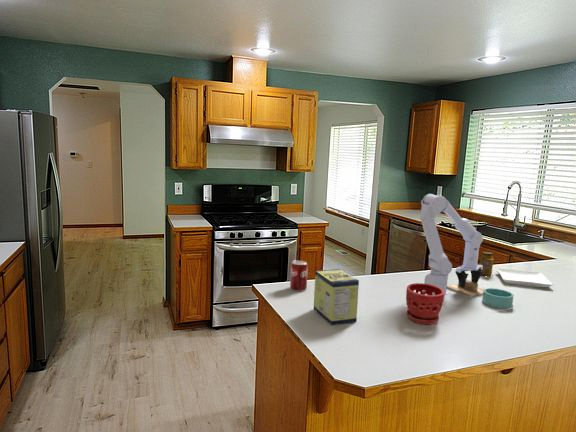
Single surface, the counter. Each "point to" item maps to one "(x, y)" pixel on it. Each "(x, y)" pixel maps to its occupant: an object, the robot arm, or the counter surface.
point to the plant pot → (424, 303)
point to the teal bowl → (498, 298)
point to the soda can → (298, 275)
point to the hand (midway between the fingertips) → (467, 286)
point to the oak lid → (467, 289)
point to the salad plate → (524, 278)
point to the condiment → (487, 264)
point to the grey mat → (464, 295)
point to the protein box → (336, 296)
